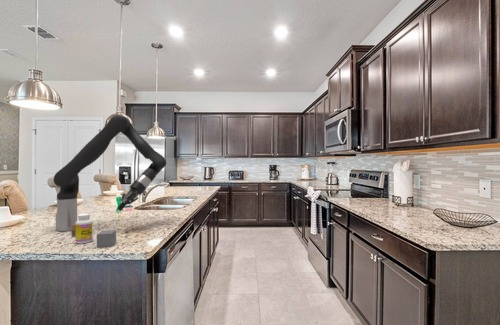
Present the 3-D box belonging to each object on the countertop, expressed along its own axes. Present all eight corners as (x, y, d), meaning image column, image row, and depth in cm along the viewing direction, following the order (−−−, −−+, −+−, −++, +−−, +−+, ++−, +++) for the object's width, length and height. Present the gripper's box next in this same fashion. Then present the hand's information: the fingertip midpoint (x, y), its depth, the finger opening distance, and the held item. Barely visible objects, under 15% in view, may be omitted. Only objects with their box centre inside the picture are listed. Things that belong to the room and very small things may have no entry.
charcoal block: (96, 248, 110) (96, 234, 110) (102, 243, 116) (102, 230, 116) (111, 247, 111) (111, 233, 111) (116, 242, 117) (116, 229, 117)
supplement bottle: (79, 245, 114) (79, 216, 114) (73, 242, 117) (72, 215, 117) (95, 241, 119) (94, 214, 119) (88, 238, 123) (88, 212, 123)
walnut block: (71, 237, 126) (71, 225, 126) (77, 233, 132) (77, 222, 132) (84, 236, 128) (84, 224, 127) (90, 232, 133) (89, 221, 133)
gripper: (130, 179, 143) (107, 203, 133) (143, 180, 136) (120, 206, 126) (138, 188, 148) (117, 212, 138) (151, 189, 140) (130, 215, 130)
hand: (118, 209), depth 132 cm, fingers closed
